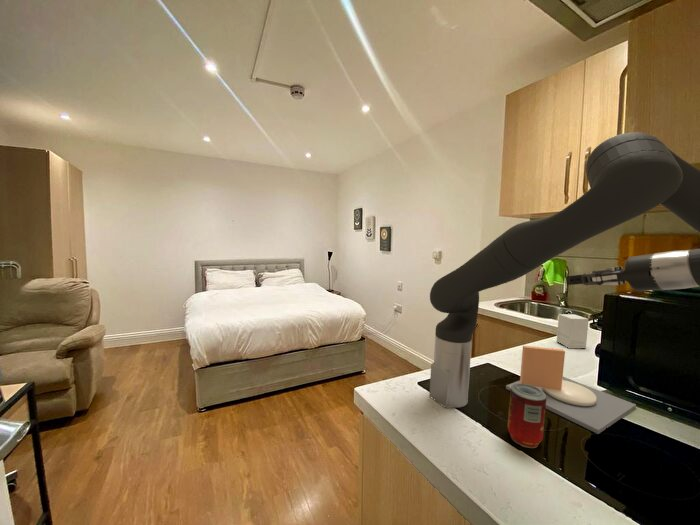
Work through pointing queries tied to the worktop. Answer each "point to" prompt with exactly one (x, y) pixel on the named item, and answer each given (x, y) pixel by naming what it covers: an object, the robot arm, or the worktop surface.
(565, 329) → the white tall block
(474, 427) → the worktop surface
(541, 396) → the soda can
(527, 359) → the dial lever
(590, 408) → the board
